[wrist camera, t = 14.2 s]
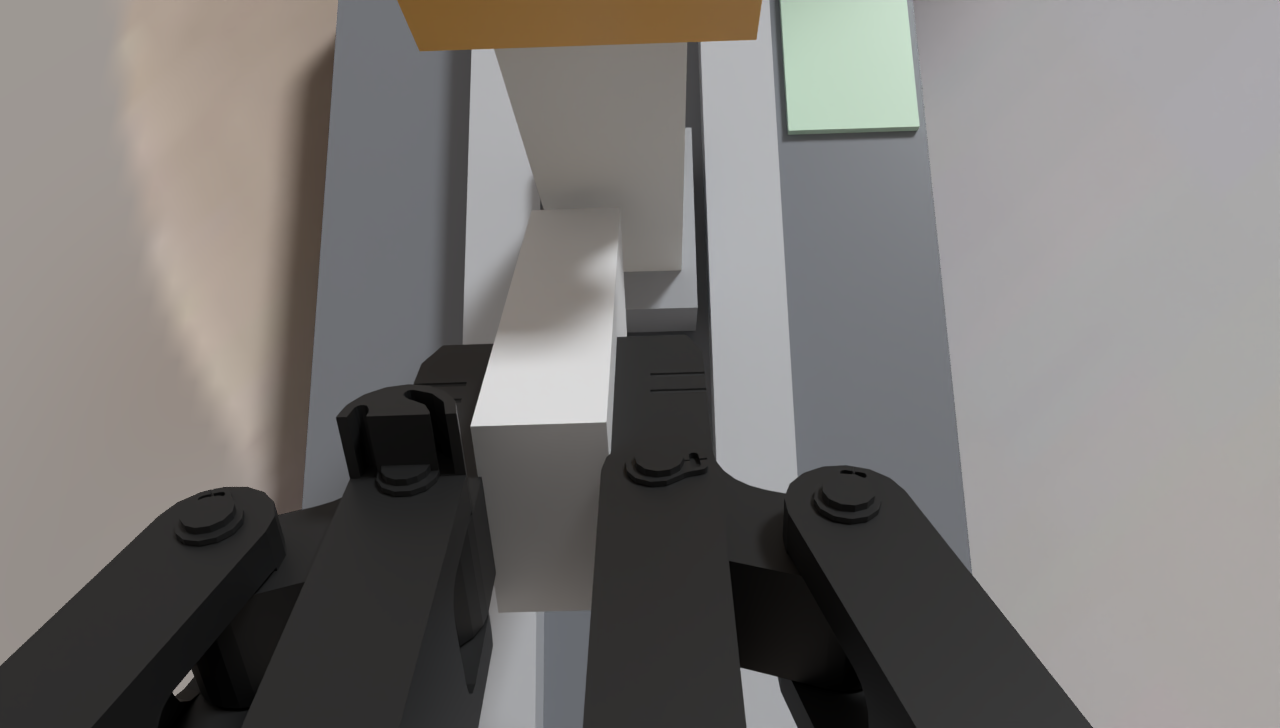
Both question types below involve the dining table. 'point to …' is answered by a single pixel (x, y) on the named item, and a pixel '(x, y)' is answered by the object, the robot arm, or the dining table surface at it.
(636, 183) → the lever
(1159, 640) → the dining table surface
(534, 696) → the switch panel
